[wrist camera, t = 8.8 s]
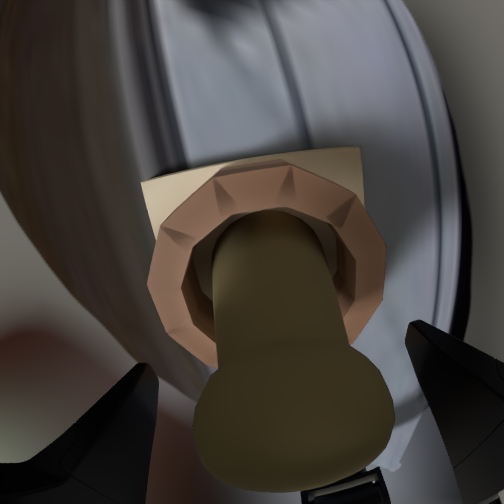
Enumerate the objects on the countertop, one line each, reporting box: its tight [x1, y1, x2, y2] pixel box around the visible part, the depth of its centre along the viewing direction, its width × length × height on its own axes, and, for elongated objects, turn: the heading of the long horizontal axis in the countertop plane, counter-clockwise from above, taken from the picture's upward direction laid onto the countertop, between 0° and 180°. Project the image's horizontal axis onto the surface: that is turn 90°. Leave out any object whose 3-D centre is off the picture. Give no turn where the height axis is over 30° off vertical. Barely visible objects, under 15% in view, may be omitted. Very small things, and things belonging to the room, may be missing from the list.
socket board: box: [141, 146, 387, 368], centre depth 14 cm, size 11×11×4 cm
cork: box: [192, 210, 395, 493], centre depth 9 cm, size 6×6×11 cm
